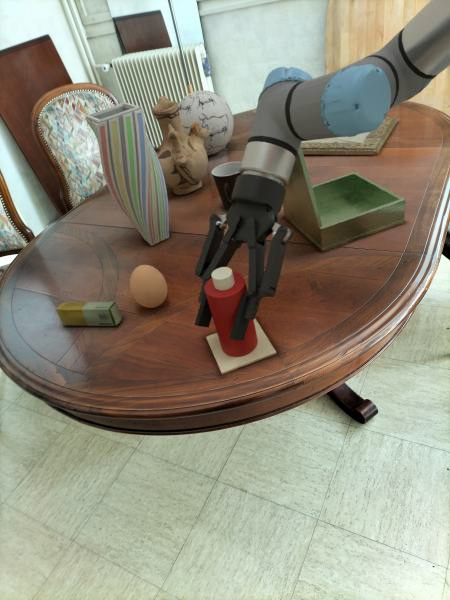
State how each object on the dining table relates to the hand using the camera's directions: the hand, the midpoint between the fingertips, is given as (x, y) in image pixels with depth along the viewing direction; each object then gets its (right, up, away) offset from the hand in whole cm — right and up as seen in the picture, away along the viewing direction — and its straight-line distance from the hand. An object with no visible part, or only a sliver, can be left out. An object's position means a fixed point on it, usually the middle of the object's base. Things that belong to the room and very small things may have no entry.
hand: (218, 332), depth 62 cm
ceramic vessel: (-11, +37, +61) cm, 72 cm away
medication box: (-24, 0, +19) cm, 31 cm away
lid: (+13, +31, +20) cm, 39 cm away
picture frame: (+36, +55, +69) cm, 95 cm away
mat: (+3, -3, +6) cm, 7 cm away
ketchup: (+3, -2, +5) cm, 7 cm away
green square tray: (+26, +23, +30) cm, 46 cm away
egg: (-13, +4, +19) cm, 23 cm away
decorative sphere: (-4, +55, +83) cm, 99 cm away
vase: (-16, +20, +41) cm, 49 cm away
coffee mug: (+3, +28, +45) cm, 54 cm away
